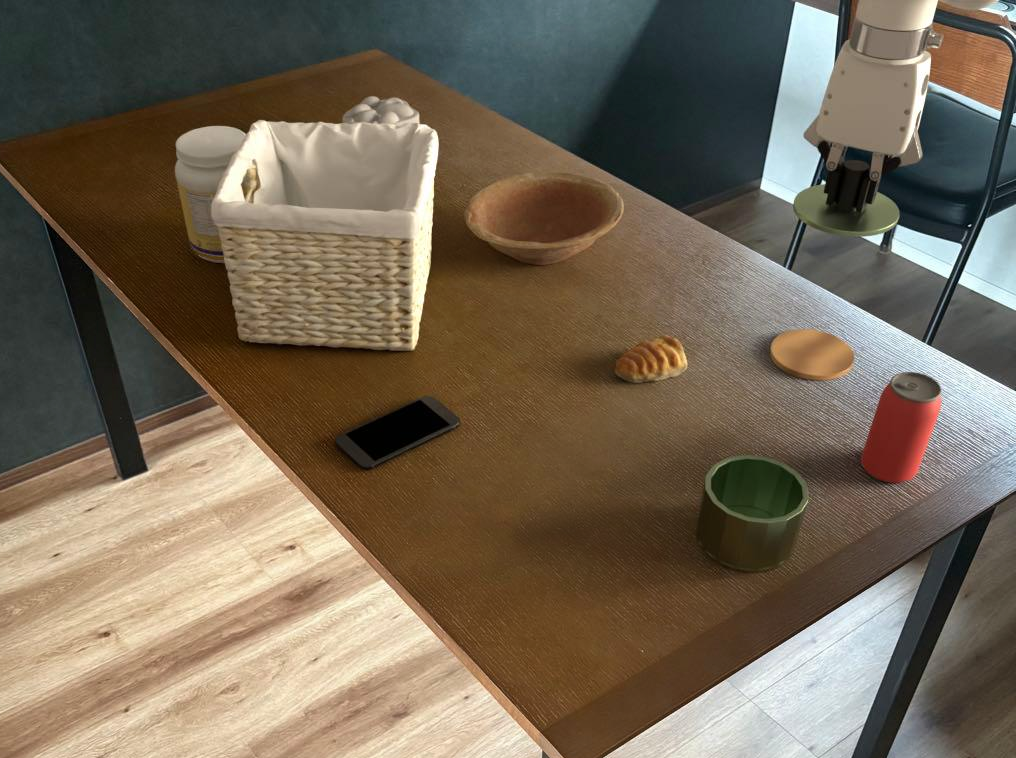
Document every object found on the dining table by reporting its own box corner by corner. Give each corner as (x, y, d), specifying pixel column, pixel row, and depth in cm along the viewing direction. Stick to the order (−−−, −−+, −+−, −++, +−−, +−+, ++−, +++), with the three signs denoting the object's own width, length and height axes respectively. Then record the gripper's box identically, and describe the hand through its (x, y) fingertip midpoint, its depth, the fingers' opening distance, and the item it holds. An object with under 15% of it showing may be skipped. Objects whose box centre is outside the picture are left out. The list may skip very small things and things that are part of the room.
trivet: (863, 348, 147) (865, 343, 146) (837, 389, 140) (839, 384, 140) (786, 325, 151) (787, 320, 151) (757, 364, 144) (758, 359, 144)
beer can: (862, 445, 132) (887, 364, 124) (918, 456, 130) (948, 375, 122) (857, 478, 128) (883, 396, 119) (915, 491, 126) (945, 408, 118)
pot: (807, 527, 122) (822, 476, 116) (773, 586, 115) (787, 535, 110) (718, 493, 126) (728, 443, 121) (680, 549, 119) (689, 498, 114)
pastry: (632, 394, 140) (635, 369, 137) (603, 368, 144) (605, 344, 141) (690, 373, 143) (694, 348, 140) (660, 348, 147) (663, 324, 145)
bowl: (496, 203, 177) (497, 157, 172) (636, 229, 171) (641, 181, 166) (441, 273, 162) (440, 223, 156) (593, 303, 155) (597, 253, 150)
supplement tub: (212, 222, 173) (192, 118, 161) (282, 232, 171) (267, 127, 159) (176, 260, 165) (153, 153, 153) (250, 271, 162) (232, 163, 151)
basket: (445, 258, 165) (441, 117, 150) (428, 359, 146) (422, 209, 130) (270, 253, 166) (249, 113, 151) (231, 352, 147) (202, 203, 132)
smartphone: (464, 425, 135) (464, 419, 134) (364, 473, 128) (364, 468, 128) (429, 397, 139) (429, 392, 139) (331, 443, 133) (330, 437, 132)
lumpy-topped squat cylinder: (426, 157, 190) (424, 108, 184) (358, 173, 186) (354, 123, 180) (402, 135, 197) (399, 87, 191) (335, 149, 192) (330, 101, 186)
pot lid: (908, 207, 127) (923, 156, 122) (880, 251, 119) (895, 198, 115) (810, 184, 131) (821, 134, 127) (777, 225, 124) (788, 173, 119)
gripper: (978, 40, 111) (927, 207, 123) (823, 13, 117) (789, 175, 129) (960, 64, 106) (909, 235, 119) (800, 34, 112) (767, 200, 125)
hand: (847, 202), depth 124 cm, fingers closed on pot lid, 2 cm apart
